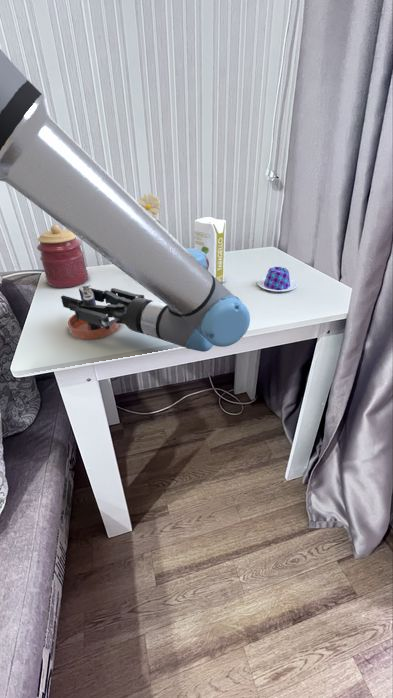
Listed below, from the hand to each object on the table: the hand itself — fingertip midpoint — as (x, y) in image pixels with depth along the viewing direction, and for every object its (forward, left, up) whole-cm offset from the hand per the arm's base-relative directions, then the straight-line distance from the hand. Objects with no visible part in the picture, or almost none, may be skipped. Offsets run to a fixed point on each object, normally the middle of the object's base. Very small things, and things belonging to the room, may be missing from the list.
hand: (73, 296), depth 79 cm
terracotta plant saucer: (0, -5, -7) cm, 9 cm away
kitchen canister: (+18, +24, -7) cm, 31 cm away
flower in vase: (+38, +5, -7) cm, 39 cm away
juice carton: (+39, -17, -7) cm, 43 cm away
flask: (0, -5, -7) cm, 9 cm away
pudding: (+46, -37, -7) cm, 60 cm away
